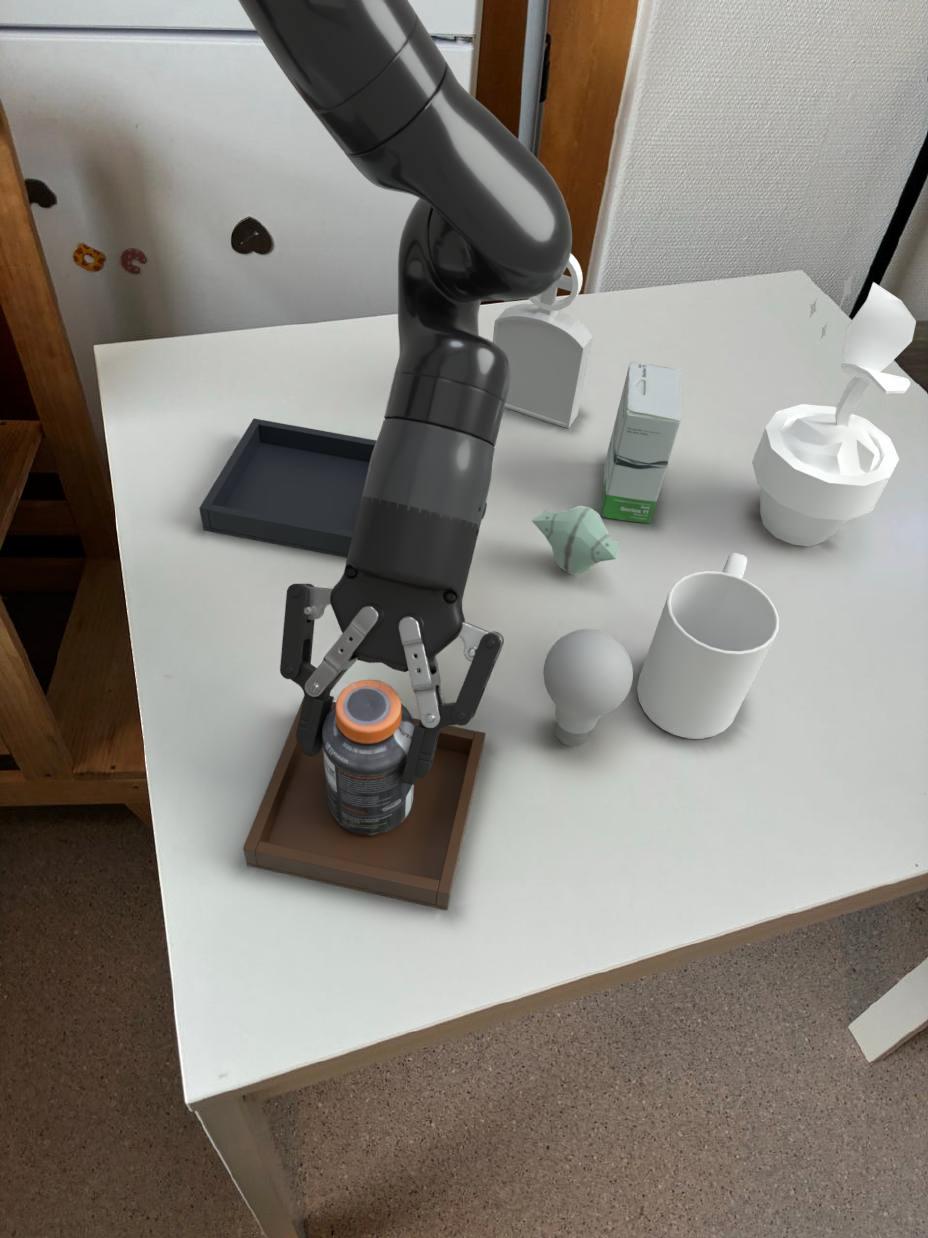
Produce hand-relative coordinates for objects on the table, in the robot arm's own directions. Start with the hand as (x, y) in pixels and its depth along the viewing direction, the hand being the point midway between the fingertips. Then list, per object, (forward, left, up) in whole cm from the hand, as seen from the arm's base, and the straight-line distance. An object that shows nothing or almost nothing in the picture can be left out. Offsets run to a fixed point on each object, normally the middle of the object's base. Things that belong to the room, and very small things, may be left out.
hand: (360, 766), depth 57 cm
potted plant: (+31, +40, -8) cm, 51 cm away
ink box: (+15, +41, -8) cm, 44 cm away
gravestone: (+4, +52, -8) cm, 52 cm away
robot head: (+11, +29, -8) cm, 32 cm away
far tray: (-14, +32, -7) cm, 35 cm away
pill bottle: (0, +2, -7) cm, 7 cm away
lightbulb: (+13, +11, -8) cm, 19 cm away
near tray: (0, +2, -7) cm, 8 cm away
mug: (+22, +19, -8) cm, 30 cm away
